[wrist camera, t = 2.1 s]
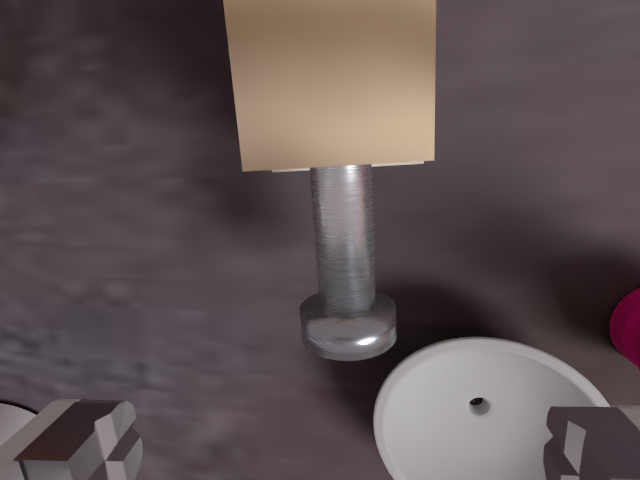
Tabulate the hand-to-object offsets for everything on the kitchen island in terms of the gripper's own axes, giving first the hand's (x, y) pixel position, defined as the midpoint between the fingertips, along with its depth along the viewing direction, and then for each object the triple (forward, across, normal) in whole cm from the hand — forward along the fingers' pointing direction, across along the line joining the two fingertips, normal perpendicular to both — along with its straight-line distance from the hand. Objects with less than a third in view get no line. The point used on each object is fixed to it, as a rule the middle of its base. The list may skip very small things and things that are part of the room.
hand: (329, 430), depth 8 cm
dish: (+21, -9, +15) cm, 27 cm away
